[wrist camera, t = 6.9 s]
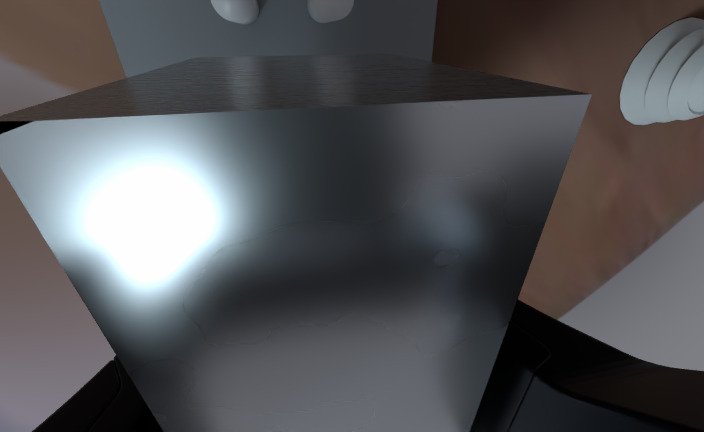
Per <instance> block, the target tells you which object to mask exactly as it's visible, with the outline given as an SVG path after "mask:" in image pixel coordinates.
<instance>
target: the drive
mask: <svg viewBox="0 0 704 432" xmlns="http://www.w3.org/2000/svg"><path fill="white" fill-rule="evenodd" d="M591 95H592V94H588V93H583V92H578V91H573V90H568V89H563V88H558V87H553V86H548V85H543V84H538V83H533V82H528V81H523V80H518V79H513V78H508V77H503V76H498V75H493V74H488V73H483V72H478V71H473V70H468V69H463V68H458V67H454V66H449V65H444V64H439V63H434V62H429V61H424V60H419V59H414V58H409V57H404V56H399V55H394V54H389V53H382V54H333V55H284V56H235V57H195V58H191V59H188V60H185V61H181V62H178V63H175V64H171V65H168V66H165V67H161V68H158V69H155V70H151V71H148V72H145V73H142V74H138V75H135V76H132V77H128V78H125V79H122V80H118V81H115V82H112V83H108V84H105V85H102V86H98V87H95V88H92V89H88V90H85V91H82V92H78V93H75V94H72V95H68V96H65V97H62V98H58V99H55V100H52V101H48V102H45V103H42V104H38V105H35V106H32V107H28V108H25V109H22V110H19V111H15V112H12V113H8V114H5V115H2V116H0V167H1V169H2V170H3V172H4V173H5V175H6V177H7V178H8V180H9V181H10V183H11V185H12V187H13V188H14V190H15V191H16V193H17V195H18V196H19V198H20V199H21V201H22V202H23V204H24V206H25V208H26V209H27V211H28V212H29V214H30V216H31V217H32V218H33V220H34V222H35V224H36V225H37V227H38V229H39V230H40V232H41V233H42V235H43V237H44V238H45V240H46V242H47V243H48V245H49V246H50V248H51V250H52V251H53V253H54V255H55V256H56V258H57V259H58V261H59V262H60V264H61V266H62V268H63V269H64V271H65V272H66V274H67V276H68V277H69V279H70V281H71V282H72V284H73V285H74V287H75V289H76V290H77V292H78V293H79V295H80V297H81V298H82V300H83V302H84V303H85V304H86V306H87V308H88V310H89V311H90V313H91V314H92V316H93V318H94V319H95V321H96V323H97V324H98V326H99V327H100V329H101V331H102V332H103V334H104V336H105V337H106V339H107V341H108V342H109V344H110V345H111V347H112V349H113V350H114V352H115V353H116V355H117V357H118V358H119V360H120V362H121V363H122V365H123V366H124V368H125V370H126V371H127V373H128V375H129V376H130V378H131V379H132V381H133V383H134V384H135V386H136V388H137V389H138V391H139V392H140V394H141V396H142V397H143V399H144V401H145V402H146V404H147V405H148V407H149V409H150V410H151V412H152V413H153V415H154V417H155V418H156V420H157V422H158V423H159V425H160V426H161V428H162V430H163V431H164V432H470V429H471V426H472V424H473V421H474V418H475V415H476V413H477V410H478V407H479V404H480V401H481V399H482V396H483V393H484V390H485V388H486V385H487V382H488V379H489V377H490V374H491V371H492V368H493V366H494V363H495V360H496V357H497V355H498V352H499V349H500V346H501V344H502V341H503V338H504V335H505V333H506V330H507V327H508V324H509V322H510V319H511V316H512V313H513V311H514V308H515V305H516V302H517V299H518V297H519V294H520V291H521V288H522V286H523V283H524V280H525V277H526V275H527V272H528V269H529V266H530V264H531V261H532V258H533V255H534V253H535V250H536V247H537V244H538V242H539V239H540V236H541V233H542V231H543V228H544V225H545V222H546V220H547V217H548V214H549V211H550V208H551V206H552V203H553V200H554V197H555V195H556V192H557V189H558V186H559V184H560V181H561V178H562V175H563V173H564V170H565V167H566V164H567V162H568V159H569V156H570V153H571V151H572V148H573V145H574V142H575V140H576V137H577V134H578V131H579V129H580V126H581V123H582V120H583V117H584V115H585V112H586V109H587V106H588V104H589V101H590V98H591Z"/></svg>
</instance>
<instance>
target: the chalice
mask: <svg viewBox="0 0 704 432" xmlns="http://www.w3.org/2000/svg"><path fill="white" fill-rule="evenodd" d="M620 109H621V111H622V113H623V115H624V117H625V119H626V120H628V121H629V122H631V123H632V124H637V125H647V124H651V123H654V122H665V123H666V122H669V121H673V120H677V119H678V120H688V119H692V118H695V117H698V116H701V115H704V20H703V19H698V18H693V17H691V18H687V19H683V20H679V21H676V22H674V23H673V24H671V25H669V26H668V27H666V28H664V29H662V30H661V31H660V32H659V33H657V34H656V35H655V36H654V37H653V38H652V39H651V40H650V41H649V42H648V43H647V44H646V45H645V46H644V47H643V48H642V50H641V51H640V52H639V54H638V55H637V56H636V58H635V59H634V60H633V62H632V64H631V66H630V68H629V70H628V72H627V74H626V76H625V78H624V81H623V85H622V89H621V93H620Z"/></svg>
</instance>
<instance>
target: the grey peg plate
mask: <svg viewBox="0 0 704 432" xmlns="http://www.w3.org/2000/svg"><path fill="white" fill-rule="evenodd" d="M99 2H100V5H101V7H102V10H103V13H104V16H105V19H106V21H107V24H108V27H109V30H110V33H111V36H112V38H113V41H114V44H115V47H116V50H117V53H118V55H119V58H120V61H121V64H122V67H123V69H124V72H125V75H126V78H128V77H132V76H135V75H138V74H142V73H145V72H148V71H151V70H155V69H158V68H161V67H165V66H168V65H171V64H175V63H178V62H181V61H185V60H188V59H191V58H195V57H235V56H284V55H333V54H382V53H389V54H394V55H399V56H404V57H409V58H414V59H419V60H424V61H429V62H432V52H433V42H434V32H435V23H436V13H437V3H438V0H99Z"/></svg>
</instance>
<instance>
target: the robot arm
mask: <svg viewBox="0 0 704 432" xmlns="http://www.w3.org/2000/svg"><path fill="white" fill-rule="evenodd" d="M32 432H164V431H163V430H162V428H161V426H160V425H159V423H158V422H157V420H156V418H155V417H154V415H153V413H152V412H151V410H150V409H149V407H148V405H147V404H146V402H145V401H144V399H143V397H142V396H141V394H140V392H139V391H138V389H137V388H136V386H135V384H134V383H133V381H132V379H131V378H130V376H129V375H128V373H127V371H126V370H125V368H124V366H123V365H122V363H121V362H120V360H119V358H118V357H117V355H116V356H115V357H114V360H111V361H109V363H107V364H106V365H105V366H104V367H103V368H102V369H101V370H100V371H99V372H98V373H97V374H96V375H95V376H94V377H93V378H92V379H91V380H90V381H88V382H87V383H86V384H85V385H84V386H83V387H82V388H81V389H80V390H79V391H78V392H77V393H76V394H74V395H73V396H72V397H71V398H70V399H69V400H68V401H67V402H66V403H65V404H63V405H62V406H61V407H60V408H59V409H57V410H56V411H55V412H54V413H53V414H52V415H51V416H49V417H48V418H47V419H46V420H45V421H44V422H43V423H42V424H40V425H39V426H38V427H37V428H36V429H35V430H33V431H32ZM470 432H704V371H697V370H688V369H678V368H671V367H666V366H662V365H657V364H654V363H650V362H647V361H644V360H641V359H638V358H636V357H633V356H631V355H629V354H626V353H624V352H622V351H620V350H618V349H616V348H613V347H612V346H610V345H608V344H605V343H603V342H601V341H599V340H597V339H595V338H593V337H591V336H589V335H587V334H585V333H583V332H581V331H579V330H576V329H574V328H572V327H570V326H568V325H566V324H564V323H562V322H560V321H558V320H556V319H554V318H552V317H550V316H548V315H546V314H544V313H542V312H540V311H538V310H537V309H535V308H533V307H531V306H529V305H527V304H525V303H524V302H522V301H520V300H518V299H517V302H516V305H515V308H514V311H513V313H512V316H511V319H510V322H509V324H508V327H507V330H506V333H505V335H504V338H503V341H502V344H501V346H500V349H499V352H498V355H497V357H496V360H495V363H494V366H493V368H492V371H491V374H490V377H489V379H488V382H487V385H486V388H485V390H484V393H483V396H482V399H481V401H480V404H479V407H478V410H477V413H476V415H475V418H474V421H473V424H472V426H471V429H470Z"/></svg>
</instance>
